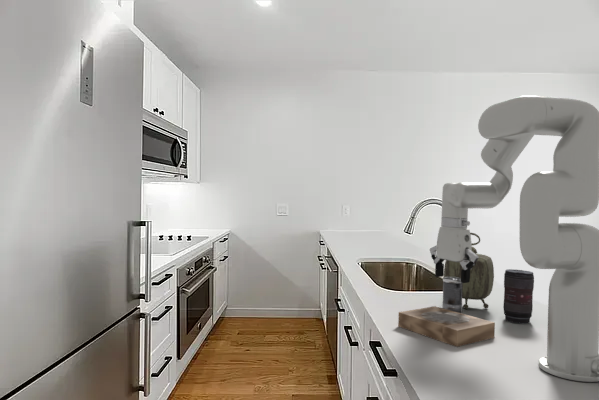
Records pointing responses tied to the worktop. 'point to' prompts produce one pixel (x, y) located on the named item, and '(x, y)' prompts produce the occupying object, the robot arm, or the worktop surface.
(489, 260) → the tabletop clock
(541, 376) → the worktop surface
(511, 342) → the worktop surface
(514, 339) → the worktop surface
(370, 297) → the worktop surface
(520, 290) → the camera lens
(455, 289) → the shiny metal canister
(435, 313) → the mount board
